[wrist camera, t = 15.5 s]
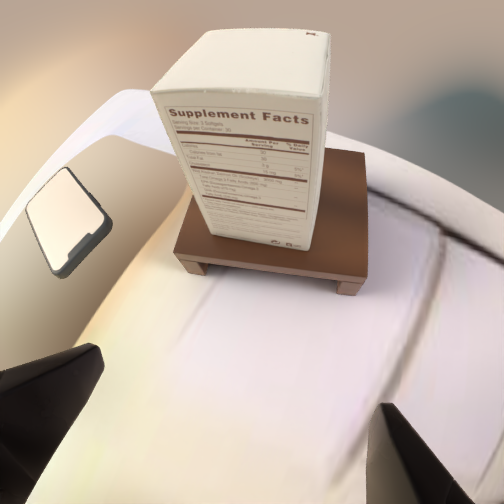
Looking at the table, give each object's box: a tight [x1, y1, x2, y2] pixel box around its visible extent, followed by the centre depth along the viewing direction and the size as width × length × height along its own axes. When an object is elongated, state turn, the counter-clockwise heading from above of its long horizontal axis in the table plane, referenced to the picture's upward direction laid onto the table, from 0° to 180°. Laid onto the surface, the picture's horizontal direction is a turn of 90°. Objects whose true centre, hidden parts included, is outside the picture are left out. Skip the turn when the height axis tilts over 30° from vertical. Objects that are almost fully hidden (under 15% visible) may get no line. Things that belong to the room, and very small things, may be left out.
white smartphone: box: [25, 167, 113, 279], centre depth 29 cm, size 9×2×16 cm
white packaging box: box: [150, 28, 331, 251], centre depth 17 cm, size 7×7×13 cm
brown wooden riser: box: [173, 148, 368, 296], centre depth 24 cm, size 12×14×4 cm
